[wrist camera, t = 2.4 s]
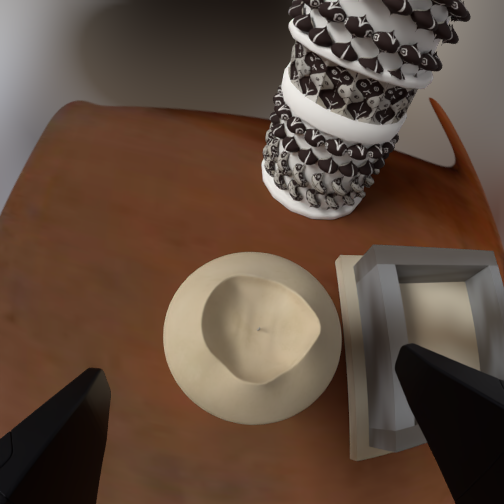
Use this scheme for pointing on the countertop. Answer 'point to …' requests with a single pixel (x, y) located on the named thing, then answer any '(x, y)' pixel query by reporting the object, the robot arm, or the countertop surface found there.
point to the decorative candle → (349, 96)
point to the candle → (252, 338)
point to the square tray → (412, 330)
